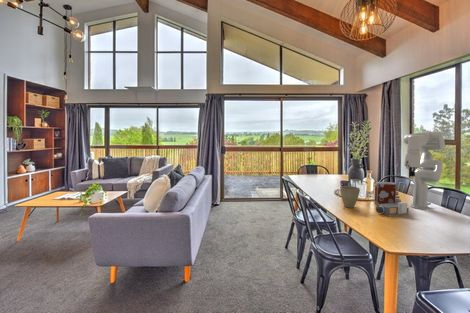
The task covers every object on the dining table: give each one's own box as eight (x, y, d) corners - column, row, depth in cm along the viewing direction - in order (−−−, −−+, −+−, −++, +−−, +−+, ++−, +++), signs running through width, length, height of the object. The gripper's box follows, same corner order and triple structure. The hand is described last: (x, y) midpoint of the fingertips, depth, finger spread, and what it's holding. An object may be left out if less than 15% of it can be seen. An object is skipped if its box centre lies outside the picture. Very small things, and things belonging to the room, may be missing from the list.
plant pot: (339, 208, 206) (340, 188, 205) (339, 203, 220) (340, 185, 218) (359, 210, 200) (360, 190, 199) (358, 205, 214) (359, 186, 213)
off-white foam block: (405, 212, 191) (405, 202, 190) (407, 213, 189) (408, 202, 188) (397, 213, 189) (398, 202, 188) (400, 214, 187) (400, 203, 186)
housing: (395, 210, 200) (396, 202, 200) (408, 214, 189) (408, 205, 189) (373, 212, 195) (373, 203, 194) (385, 216, 184) (385, 207, 184)
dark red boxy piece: (402, 208, 206) (404, 184, 204) (377, 206, 210) (378, 183, 208) (398, 205, 215) (399, 182, 213) (373, 203, 219) (374, 181, 217)
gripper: (416, 151, 192) (415, 175, 193) (400, 151, 188) (399, 175, 190) (426, 152, 184) (424, 176, 186) (410, 152, 181) (408, 177, 182)
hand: (411, 176), depth 188 cm, fingers closed
